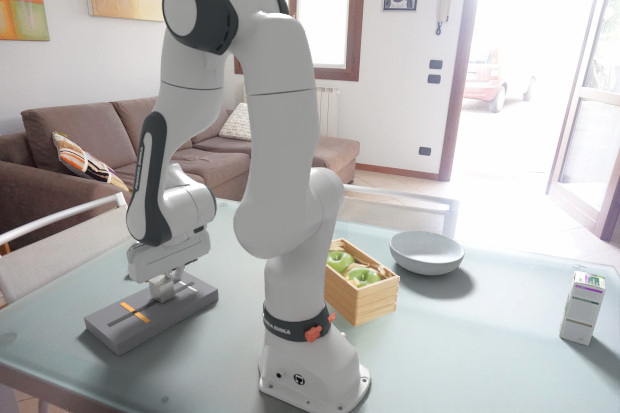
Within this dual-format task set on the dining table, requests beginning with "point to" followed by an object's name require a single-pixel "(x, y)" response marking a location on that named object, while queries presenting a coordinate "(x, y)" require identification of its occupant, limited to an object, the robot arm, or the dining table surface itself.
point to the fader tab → (161, 288)
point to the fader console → (148, 314)
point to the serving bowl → (426, 252)
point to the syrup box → (582, 307)
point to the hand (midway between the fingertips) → (175, 282)
